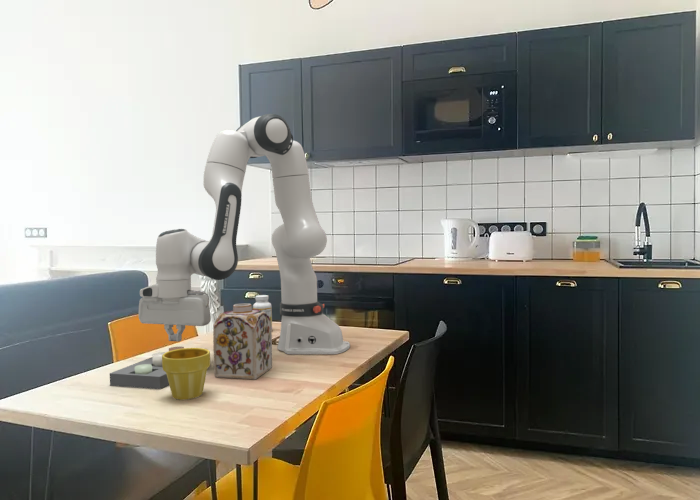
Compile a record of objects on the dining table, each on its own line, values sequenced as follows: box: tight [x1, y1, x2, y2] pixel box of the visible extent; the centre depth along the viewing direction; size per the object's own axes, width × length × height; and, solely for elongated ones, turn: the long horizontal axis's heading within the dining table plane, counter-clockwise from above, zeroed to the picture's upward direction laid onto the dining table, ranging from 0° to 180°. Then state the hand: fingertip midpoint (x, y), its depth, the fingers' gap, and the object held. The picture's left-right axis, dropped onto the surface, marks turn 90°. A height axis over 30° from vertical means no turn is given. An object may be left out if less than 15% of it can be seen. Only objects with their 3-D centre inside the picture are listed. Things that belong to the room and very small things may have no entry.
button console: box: [109, 356, 169, 390], centre depth 140 cm, size 14×21×3 cm, turn 164°
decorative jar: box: [212, 303, 273, 381], centre depth 141 cm, size 12×12×18 cm
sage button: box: [135, 364, 152, 375], centre depth 133 cm, size 4×4×3 cm
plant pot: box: [162, 347, 211, 401], centre depth 123 cm, size 10×10×10 cm
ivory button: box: [151, 352, 165, 367], centre depth 140 cm, size 4×4×3 cm
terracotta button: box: [168, 346, 185, 351], centre depth 146 cm, size 4×4×3 cm
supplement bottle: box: [252, 294, 273, 331], centre depth 196 cm, size 7×7×13 cm
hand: (175, 341), depth 146 cm, fingers closed
